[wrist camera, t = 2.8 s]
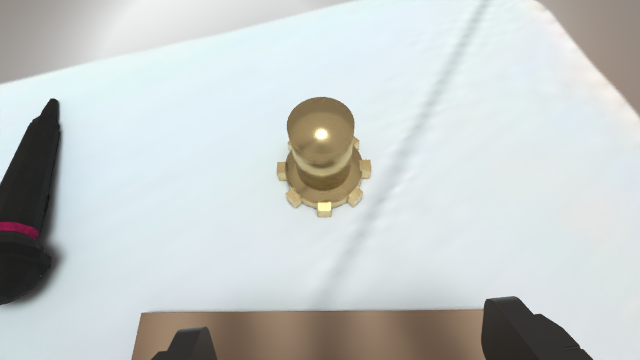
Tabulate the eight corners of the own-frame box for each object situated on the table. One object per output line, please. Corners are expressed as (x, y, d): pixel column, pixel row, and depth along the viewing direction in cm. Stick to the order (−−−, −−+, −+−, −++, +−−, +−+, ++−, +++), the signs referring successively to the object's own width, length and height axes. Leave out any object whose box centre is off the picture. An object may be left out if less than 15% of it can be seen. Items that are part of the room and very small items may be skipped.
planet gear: (277, 217, 26) (257, 179, 19) (282, 137, 29) (265, 80, 22) (372, 215, 26) (385, 175, 19) (365, 135, 29) (375, 76, 22)
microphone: (63, 127, 35) (7, 319, 24) (0, 93, 30) (-103, 312, 19) (101, 107, 34) (60, 298, 23) (42, 67, 29) (-43, 285, 18)
